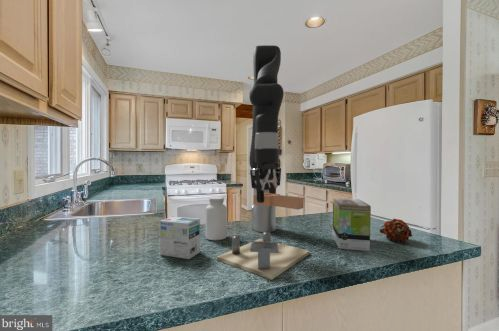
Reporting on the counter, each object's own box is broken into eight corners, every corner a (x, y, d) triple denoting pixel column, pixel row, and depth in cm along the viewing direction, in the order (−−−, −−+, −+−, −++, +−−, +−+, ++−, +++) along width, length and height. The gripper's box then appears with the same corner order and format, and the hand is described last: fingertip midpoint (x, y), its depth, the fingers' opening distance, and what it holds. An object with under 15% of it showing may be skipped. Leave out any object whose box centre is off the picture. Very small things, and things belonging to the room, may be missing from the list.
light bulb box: (201, 251, 77) (201, 218, 77) (189, 260, 71) (189, 223, 71) (172, 248, 81) (172, 215, 80) (159, 255, 74) (158, 220, 74)
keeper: (252, 260, 68) (252, 241, 68) (277, 261, 67) (277, 242, 67) (250, 268, 62) (250, 247, 62) (277, 270, 62) (277, 249, 62)
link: (253, 203, 77) (253, 194, 77) (264, 201, 81) (264, 192, 81) (295, 210, 67) (295, 199, 67) (305, 207, 72) (305, 197, 72)
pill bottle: (230, 235, 94) (230, 197, 93) (219, 242, 86) (219, 200, 86) (213, 233, 97) (213, 195, 97) (201, 239, 90) (201, 198, 89)
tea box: (371, 251, 77) (371, 205, 77) (337, 249, 79) (338, 204, 79) (359, 237, 92) (360, 198, 92) (331, 235, 94) (332, 197, 94)
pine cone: (406, 251, 81) (384, 244, 93) (424, 236, 82) (401, 231, 94) (389, 230, 82) (370, 226, 94) (408, 215, 83) (387, 213, 95)
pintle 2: (261, 248, 77) (261, 232, 77) (265, 246, 79) (265, 231, 79) (267, 250, 75) (267, 234, 75) (271, 248, 77) (271, 232, 77)
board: (216, 260, 71) (216, 256, 71) (259, 241, 87) (259, 238, 87) (271, 279, 59) (271, 275, 59) (309, 254, 75) (309, 250, 75)
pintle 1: (230, 253, 73) (230, 236, 73) (235, 251, 75) (235, 234, 75) (236, 255, 72) (236, 238, 71) (241, 252, 73) (241, 236, 73)
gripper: (269, 149, 85) (269, 197, 85) (242, 147, 73) (242, 202, 74) (288, 148, 80) (288, 199, 80) (262, 146, 69) (263, 205, 69)
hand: (266, 200), depth 77 cm, fingers closed on link, 6 cm apart
